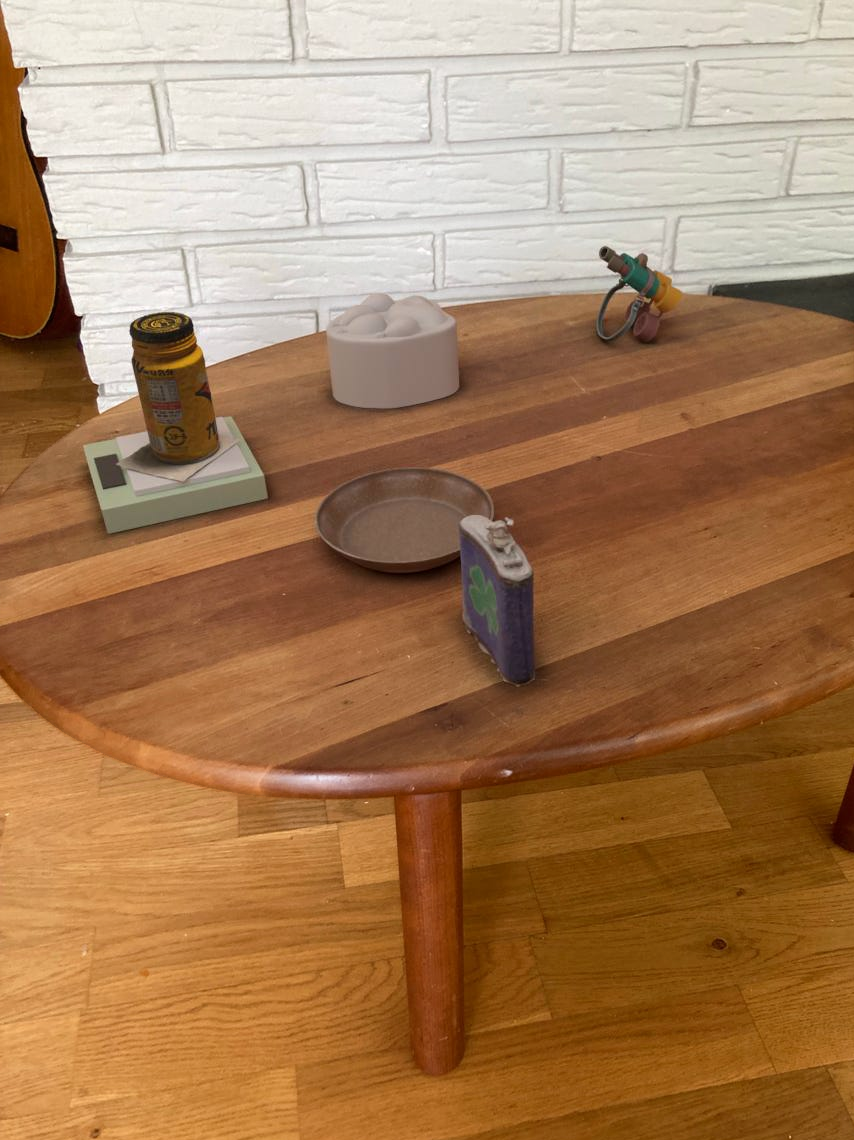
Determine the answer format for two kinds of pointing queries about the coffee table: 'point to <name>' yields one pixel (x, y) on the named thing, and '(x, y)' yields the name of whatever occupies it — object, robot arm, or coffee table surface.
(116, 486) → the scale
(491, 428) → the coffee table surface
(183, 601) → the coffee table surface
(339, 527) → the saucer
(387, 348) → the lumpy-topped squat cylinder
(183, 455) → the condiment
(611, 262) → the multicolored plastic assembly
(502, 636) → the flask
